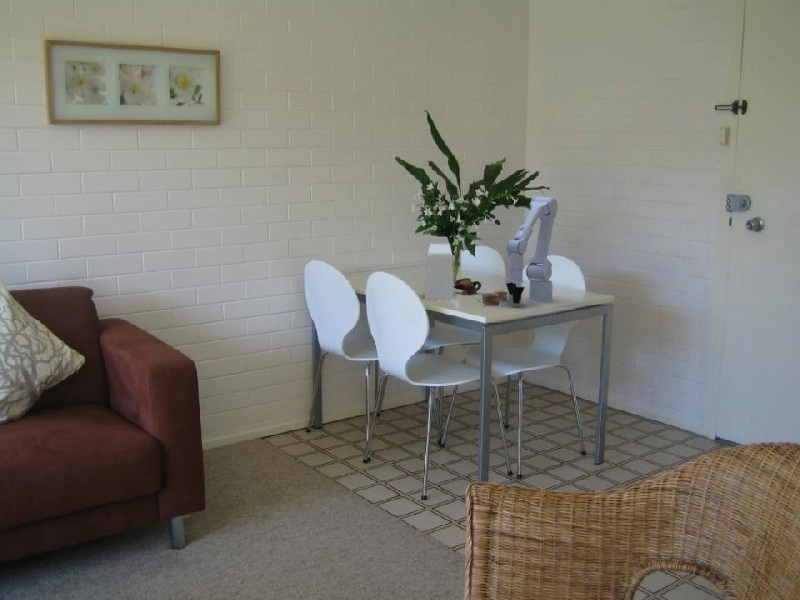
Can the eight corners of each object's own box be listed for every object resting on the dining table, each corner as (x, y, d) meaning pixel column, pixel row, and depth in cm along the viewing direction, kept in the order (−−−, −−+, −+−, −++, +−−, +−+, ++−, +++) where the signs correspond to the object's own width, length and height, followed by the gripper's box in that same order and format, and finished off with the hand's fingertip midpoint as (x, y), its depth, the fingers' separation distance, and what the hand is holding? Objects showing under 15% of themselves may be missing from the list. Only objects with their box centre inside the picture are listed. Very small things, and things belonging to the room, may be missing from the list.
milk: (425, 299, 380) (426, 238, 375) (424, 294, 391) (425, 235, 387) (453, 299, 380) (454, 238, 375) (452, 295, 391) (453, 235, 386)
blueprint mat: (515, 300, 380) (515, 299, 380) (524, 307, 362) (524, 306, 362) (476, 300, 379) (476, 299, 379) (483, 307, 361) (483, 306, 361)
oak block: (505, 299, 379) (505, 290, 378) (507, 301, 374) (507, 292, 374) (494, 299, 379) (494, 290, 378) (496, 301, 374) (496, 292, 373)
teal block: (518, 304, 368) (519, 294, 368) (520, 306, 364) (521, 296, 363) (507, 304, 368) (508, 294, 367) (510, 306, 364) (510, 296, 363)
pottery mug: (456, 297, 388) (452, 280, 391) (457, 303, 397) (453, 286, 400) (483, 290, 388) (478, 273, 390) (483, 297, 397) (479, 280, 399)
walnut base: (496, 302, 370) (496, 293, 370) (499, 305, 364) (499, 295, 364) (482, 302, 370) (482, 293, 369) (484, 305, 364) (484, 295, 363)
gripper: (502, 266, 370) (501, 298, 373) (509, 271, 356) (508, 304, 358) (519, 266, 371) (518, 298, 373) (527, 271, 357) (525, 304, 359)
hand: (514, 301), depth 366 cm, fingers open, 7 cm apart
